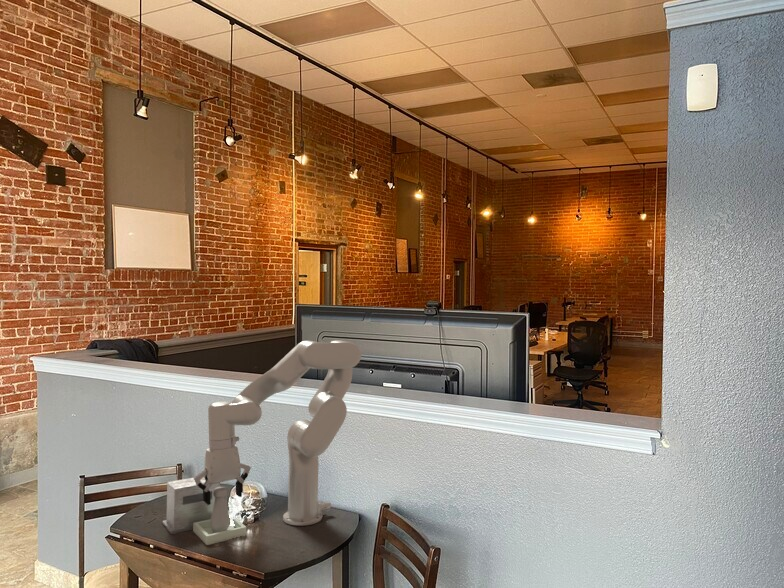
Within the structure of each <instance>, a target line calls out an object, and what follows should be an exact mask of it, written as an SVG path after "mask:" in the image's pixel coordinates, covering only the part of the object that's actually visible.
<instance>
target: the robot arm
mask: <svg viewBox="0 0 784 588" xmlns="http://www.w3.org/2000/svg"><path fill="white" fill-rule="evenodd" d="M361 358H362V351H361V349H360V347H359V346H358V345H357V344H356V343H354V342H352V341H346V340H343V339H342V340H340V339H334V340H331V341H330V342H321V341H320V342H319V341H314V340H302V341H301V342H299V343H297V344H296V345H295V346H294V347H293V348H291V350H290V351H289V352H288V353H287V354H285V355H284V357H282V358H281V359H280V360H279V361H278V362H277V363H276V364H275V365H274V366H273V367H271V368H270V369H269V370H268V371H266V372H265V373H263V374H262V375H260V376H259V377H257V378H256V379H254V380H253V381H252V382H250V383H249V384H248V385H247V386H246V387H245V388H244V389H243V390H242V391H240V392H239V394H238V395H236V397H234V398H233V400H232V402H231V401H215V402H213V403H210V405H208V409H207V412H208V416H207V417H208V440H209V441H208V447H207V448H206V450H205V454H204V455H205V456H204V465H203V470H202V471H201V472H200V473H198V474H197V475H195V476H194V477H193V478H194V481H195V483H196V484H197V486H198V487H199V488H201V489H202V490H203V500H204V502H205V503H206V504H207V505H210V504H211V497H210V491H209V489H210V487H211V486H212V484H216V483H220V484H221V483H224V482H228V481H232V480H236V481H235V495H236V496H238V497H239V498H242V496H243V493H244V483H245V481H246V479H247V478H248V477H249V473H250V471H251V468H252V467H251V466H250V465H247V464H244V463H241V459H240V453H239V449H238V446H237V445H236V443H237V442H239V441H240V437H239V436H236V434H235V433H236V432H235V431H236V430H235V429H236V428H235V426H252V425H255V424H256V423H258V422H259V421H260V420H261V418H262V414H263V411H262V408H261V407H262V406H260V405H261V404H262V403H264V402H265V401H266V400H267V399H268V398H270V397H271V396H273V395H276V394H278V393H281V392H285V391H287V390H288V389H290V388H292V387H293V386H294V385H295V384H296V383H297V382H298V381H299V380H300V379H301V378H302V377H303V376H304V375H305V374H306V373H307V372H308V371H309V370H310V369H313V370H327V374H326V376H325V378H324V380H323V381H322V383H321V384H320V386H319V388H318V389H317V391H316V393H315V394H314V395H313V396H312V398H311V400H310V401H309V404H308V409H307V410H308V413H309V414H310V416H311V417H312V419H311V421H310V420H308V419H299V420H296V421H295V422H293V423H292V424H291V425H290V427H289V429H288V431H287V450H288V490H287V493H288V494H287V511H286V512H285V513H283V515H282V521H283V522H284V523H285V524H288V525H291V526H297V527H298V526H310V525H311V526H312V525H315V524H317V523H319V522H321V520H322V519H323V513H322V512H323V510H327V509H330V508H332V504H331V502H330V501H327V502H324V501H319V456H321V455H322V454H323V453H325V452H326V450H327V449H328V448H329V446H330V445H331V443H332V442H333V441H334V439H335V437H336V435H337V433H338V432H339V430H340V429H341V427H342V425H343V424H344V423H345V420H346V417H347V412H348V410H347V409H348V408H347V405H346V403H345V401H344V400H343V399H344V397H345V395H346V393H347V392H348V390H349V389H350V386H351V383H352V379H353V368H354V367H356V366H357V365H358V364H359V363H360V361H361ZM241 469H243V472H242V471H241ZM241 472H242V473H241ZM203 477H204V479H205V480H206V481H205V483H204V484H202V483H201V481H200V480H201V479H202V478H203Z"/></svg>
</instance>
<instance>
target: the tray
mask: <svg viewBox="0 0 784 588" xmlns="http://www.w3.org/2000/svg"><path fill="white" fill-rule="evenodd" d="M233 521H234V524H235V527H236V528H234V527H230V526H229V527H228V529H227V530H226V531H222V532H217V533H214V532H213V531H212V528H211V526H210V522H211V519H209V520H205V521H200V522H196V523H193V529H192V532H193V533H194V534H195V535H196V536H197V537H198V538H199V539H200V541H202V542H203V544H205V546H210V545H213V544H218V543H220V542H225V541H226V542H227V541H229V539H230V540H233V539H232V538H234V539H237V538H236V537H238V538H241V537H240V536H242V537H245V536H244V535H246V536H247V526H246V525H245V524H243V523H242V522H241V521H240V520H239V519H237V518H236V519H233Z"/></svg>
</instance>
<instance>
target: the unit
mask: <svg viewBox="0 0 784 588" xmlns="http://www.w3.org/2000/svg"><path fill="white" fill-rule="evenodd" d="M200 481H201V483H202V484H204V483H205V481H206V480H205V479H204V477H203V478H202V479H201V480H200ZM217 487H221V482H220V483H216V484H212V486H211V487H210V489H209V491H210V497H211V504H210V505H207V504H206V503H205V502H204V500H203V490H202V489H201V488H199V487H198V486H197V484H196V483H195V481H194V477H189V478H183V479H177V480H172V481H167V483H166V520H165V519H164V520H162V521H161V523H162V525H163V527H165V529H166V530H167V531H168V532H169V534H171V535H174V534H178V533H182V532H187V531H191V530H192V531H193V523H196V522H200V521H205V520H209V519H211V516H212V511H213V506H214V501H215V497H214V495H213V491H214V489H215V488H217Z"/></svg>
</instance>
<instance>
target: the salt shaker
mask: <svg viewBox="0 0 784 588" xmlns="http://www.w3.org/2000/svg"><path fill="white" fill-rule="evenodd" d="M213 495H214V497H215V501H214V506H213V511H212V516H211V522H210V526H211V528H212V531H213V532H214V533H217V532H222V531H226V530H227V529H228V527H229V525H230V518H229V515H230V514H229V508H228V501H227V496H228V495H229V490H228V487H226V486H220V487H217V488H215V489H214V491H213Z"/></svg>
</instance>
